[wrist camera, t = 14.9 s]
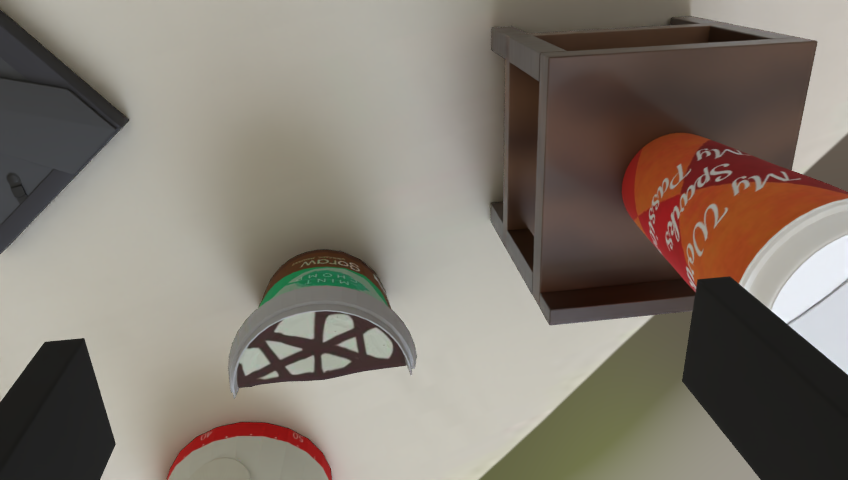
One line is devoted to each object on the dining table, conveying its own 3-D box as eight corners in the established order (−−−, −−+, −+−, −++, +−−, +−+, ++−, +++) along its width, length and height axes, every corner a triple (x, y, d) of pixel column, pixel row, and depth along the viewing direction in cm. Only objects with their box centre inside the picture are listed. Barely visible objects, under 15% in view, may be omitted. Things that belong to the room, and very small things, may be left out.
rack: (490, 27, 44) (561, 63, 30) (691, 16, 45) (846, 46, 31) (490, 221, 49) (549, 326, 36) (668, 206, 51) (790, 301, 37)
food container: (398, 225, 49) (412, 289, 39) (405, 298, 51) (420, 373, 42) (229, 245, 48) (204, 315, 38) (245, 317, 50) (225, 399, 41)
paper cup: (660, 84, 33) (863, 170, 20) (767, 153, 35) (1009, 270, 23) (572, 213, 35) (705, 362, 23) (678, 270, 38) (852, 434, 25)
